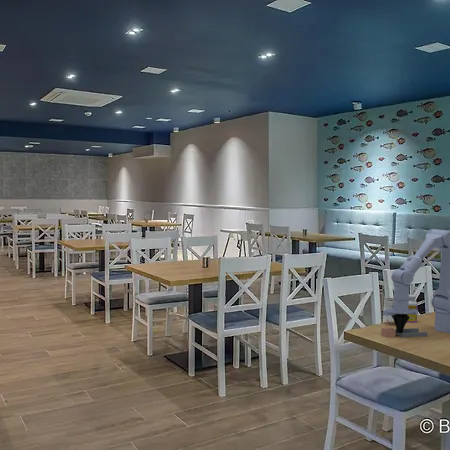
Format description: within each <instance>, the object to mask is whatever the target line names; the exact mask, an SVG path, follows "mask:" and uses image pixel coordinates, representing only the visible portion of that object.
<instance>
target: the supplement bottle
mask: <svg viewBox="0 0 450 450" xmlns="http://www.w3.org/2000/svg"><path fill="white" fill-rule="evenodd" d="M416 299H417V298H416V295H414V294H410V293H409V304H408V309H416V310H418V306H419V305H418V302H417V301H416ZM408 316H409V319H408V321H407V322H406V323H408V324H415V323H418V315H415V314H410V315H408Z"/></svg>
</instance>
